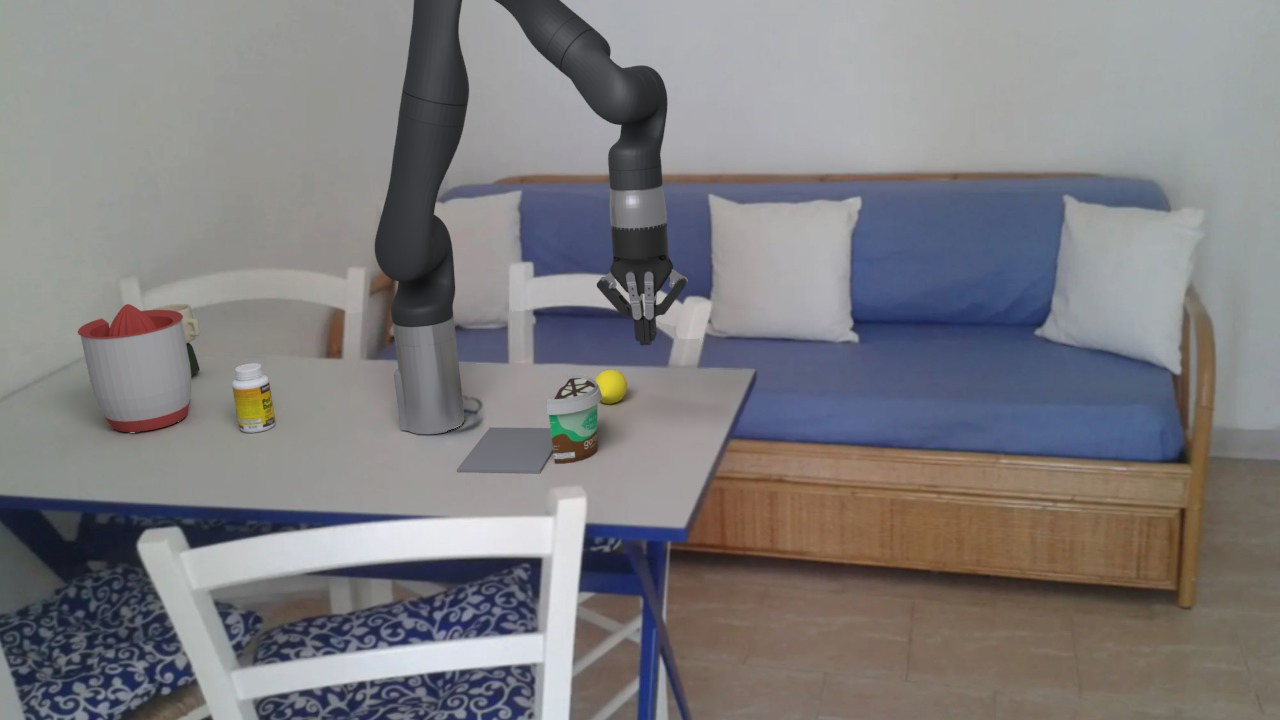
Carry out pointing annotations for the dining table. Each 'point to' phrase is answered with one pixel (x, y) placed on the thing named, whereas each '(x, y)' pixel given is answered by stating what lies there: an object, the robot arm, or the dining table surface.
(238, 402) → the supplement bottle
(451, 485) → the dining table surface
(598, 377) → the lemon
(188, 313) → the character mug
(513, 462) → the charcoal mat
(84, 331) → the citrus juicer
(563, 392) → the food container
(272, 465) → the dining table surface
